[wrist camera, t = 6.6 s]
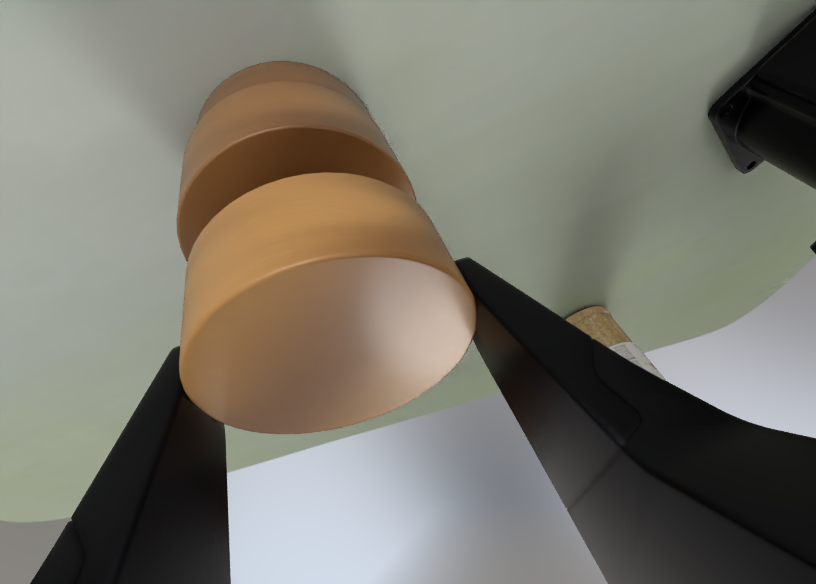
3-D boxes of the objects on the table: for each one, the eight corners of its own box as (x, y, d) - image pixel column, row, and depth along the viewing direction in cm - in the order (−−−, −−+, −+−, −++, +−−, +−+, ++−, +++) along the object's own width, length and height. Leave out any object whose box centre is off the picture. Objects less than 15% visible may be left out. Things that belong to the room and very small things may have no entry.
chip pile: (412, 120, 14) (468, 199, 11) (325, 244, 17) (349, 335, 14) (233, -4, 10) (240, 64, 7) (158, 184, 13) (140, 292, 10)
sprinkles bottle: (604, 325, 31) (749, 505, 23) (551, 350, 32) (674, 537, 23) (608, 293, 28) (781, 491, 19) (548, 321, 28) (692, 529, 20)
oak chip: (483, 232, 10) (531, 302, 9) (358, 365, 13) (377, 437, 12) (257, 112, 7) (269, 195, 5) (149, 333, 9) (134, 432, 8)
